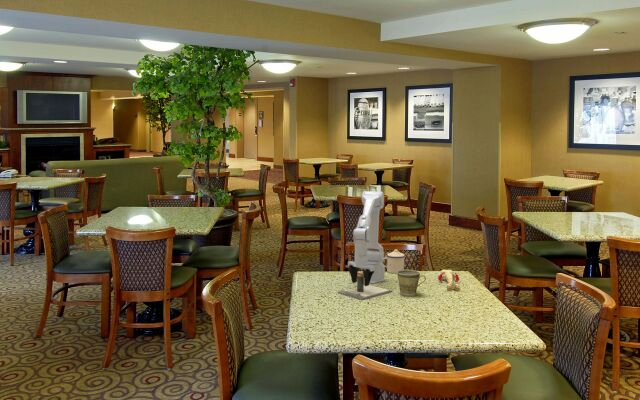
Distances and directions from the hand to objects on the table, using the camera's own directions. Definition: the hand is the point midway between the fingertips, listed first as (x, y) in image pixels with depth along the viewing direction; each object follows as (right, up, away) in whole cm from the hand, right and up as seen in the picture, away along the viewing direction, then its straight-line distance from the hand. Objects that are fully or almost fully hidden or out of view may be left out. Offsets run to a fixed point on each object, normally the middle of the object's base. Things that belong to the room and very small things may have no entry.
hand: (360, 284), depth 269 cm
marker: (0, -3, 0) cm, 3 cm away
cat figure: (+44, -3, +17) cm, 47 cm away
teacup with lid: (+19, 0, +41) cm, 46 cm away
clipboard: (+2, -4, +1) cm, 5 cm away
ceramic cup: (+23, -5, -2) cm, 23 cm away
